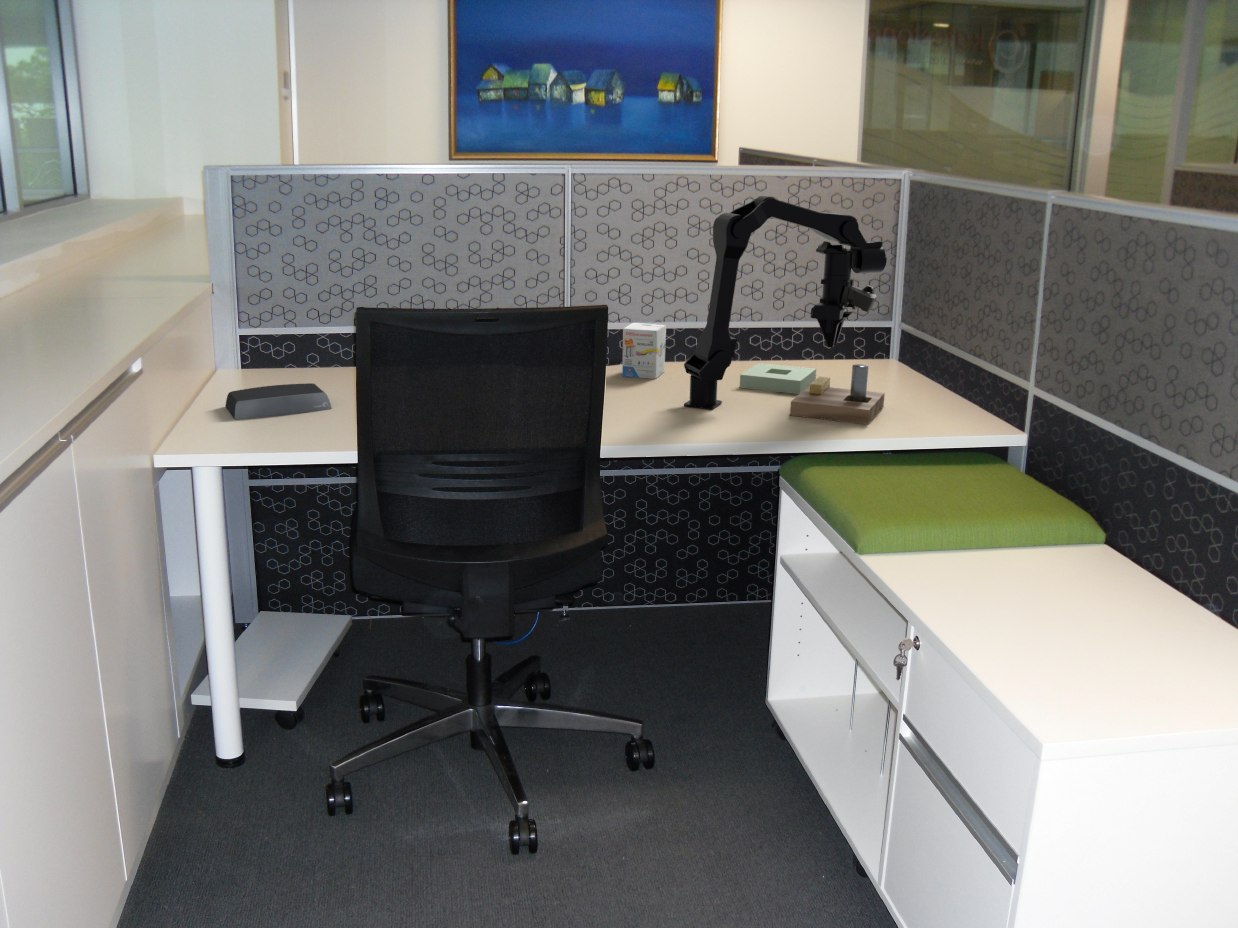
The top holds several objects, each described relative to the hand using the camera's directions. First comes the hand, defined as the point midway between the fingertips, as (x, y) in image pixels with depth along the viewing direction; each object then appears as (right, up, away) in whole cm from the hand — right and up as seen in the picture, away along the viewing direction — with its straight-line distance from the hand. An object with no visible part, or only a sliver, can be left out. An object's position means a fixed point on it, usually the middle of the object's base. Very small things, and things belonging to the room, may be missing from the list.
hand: (832, 346), depth 232 cm
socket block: (-1, -15, -10) cm, 18 cm away
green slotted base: (-10, -7, +13) cm, 18 cm away
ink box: (-41, -4, +22) cm, 46 cm away
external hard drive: (-117, -15, -12) cm, 119 cm away
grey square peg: (+3, -15, -12) cm, 19 cm away
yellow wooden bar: (-4, -10, -6) cm, 12 cm away
